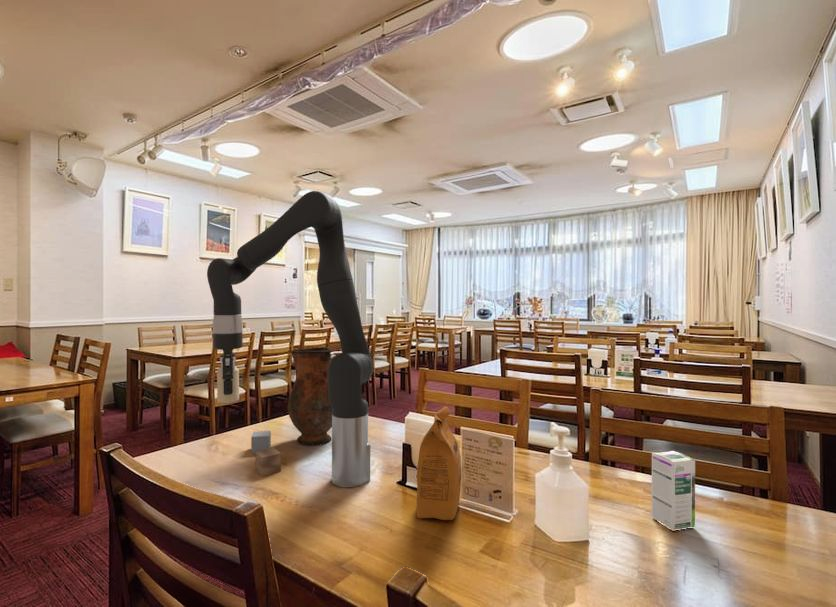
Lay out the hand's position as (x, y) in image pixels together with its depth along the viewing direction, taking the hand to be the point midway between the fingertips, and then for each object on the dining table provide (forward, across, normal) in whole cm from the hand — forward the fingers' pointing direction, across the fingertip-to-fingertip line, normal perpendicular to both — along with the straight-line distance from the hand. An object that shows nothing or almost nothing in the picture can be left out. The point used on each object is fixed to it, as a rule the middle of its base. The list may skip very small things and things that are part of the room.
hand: (228, 391), depth 117 cm
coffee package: (+21, -44, -44) cm, 66 cm away
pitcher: (+21, +10, -27) cm, 36 cm away
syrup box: (+22, -68, -87) cm, 112 cm away
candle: (+3, 0, 0) cm, 3 cm away
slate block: (+21, +9, -9) cm, 24 cm away
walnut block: (+21, -8, -10) cm, 24 cm away
